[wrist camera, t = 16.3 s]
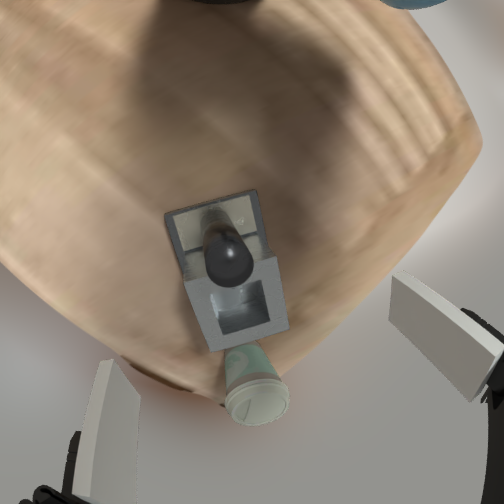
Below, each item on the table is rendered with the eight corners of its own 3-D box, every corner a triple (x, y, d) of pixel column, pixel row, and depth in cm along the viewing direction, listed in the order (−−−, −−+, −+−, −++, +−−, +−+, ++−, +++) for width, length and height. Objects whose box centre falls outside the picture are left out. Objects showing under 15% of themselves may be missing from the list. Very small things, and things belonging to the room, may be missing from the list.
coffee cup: (240, 321, 38) (259, 381, 27) (279, 345, 42) (306, 400, 31) (204, 357, 39) (212, 419, 28) (245, 377, 43) (261, 433, 32)
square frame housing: (165, 213, 31) (155, 235, 22) (254, 189, 32) (277, 202, 24) (198, 310, 36) (202, 354, 28) (274, 288, 37) (298, 326, 29)
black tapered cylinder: (205, 243, 32) (213, 293, 21) (196, 214, 30) (199, 251, 19) (234, 235, 32) (258, 279, 21) (226, 206, 31) (247, 237, 20)
